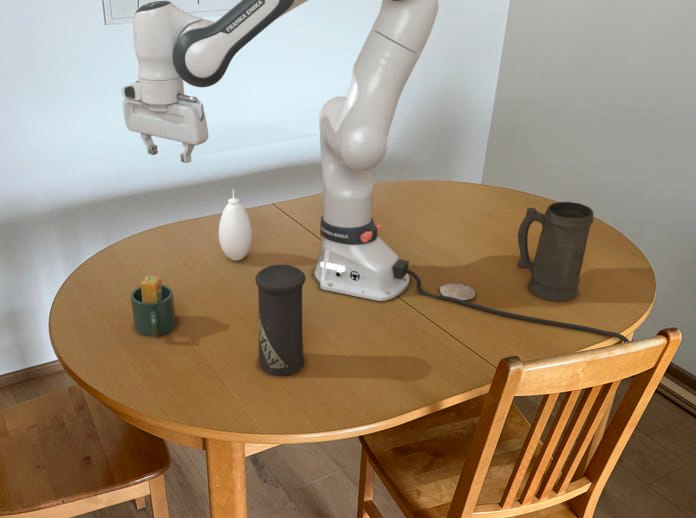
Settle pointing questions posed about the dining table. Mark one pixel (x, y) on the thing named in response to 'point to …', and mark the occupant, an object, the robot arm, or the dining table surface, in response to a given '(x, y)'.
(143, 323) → the teal faceted mug
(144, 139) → the robot arm
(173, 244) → the dining table surface
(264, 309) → the container
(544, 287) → the beer stein
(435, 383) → the dining table surface
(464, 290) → the flatbread
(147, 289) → the supplement box
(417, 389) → the dining table surface
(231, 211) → the white air blower bulb
